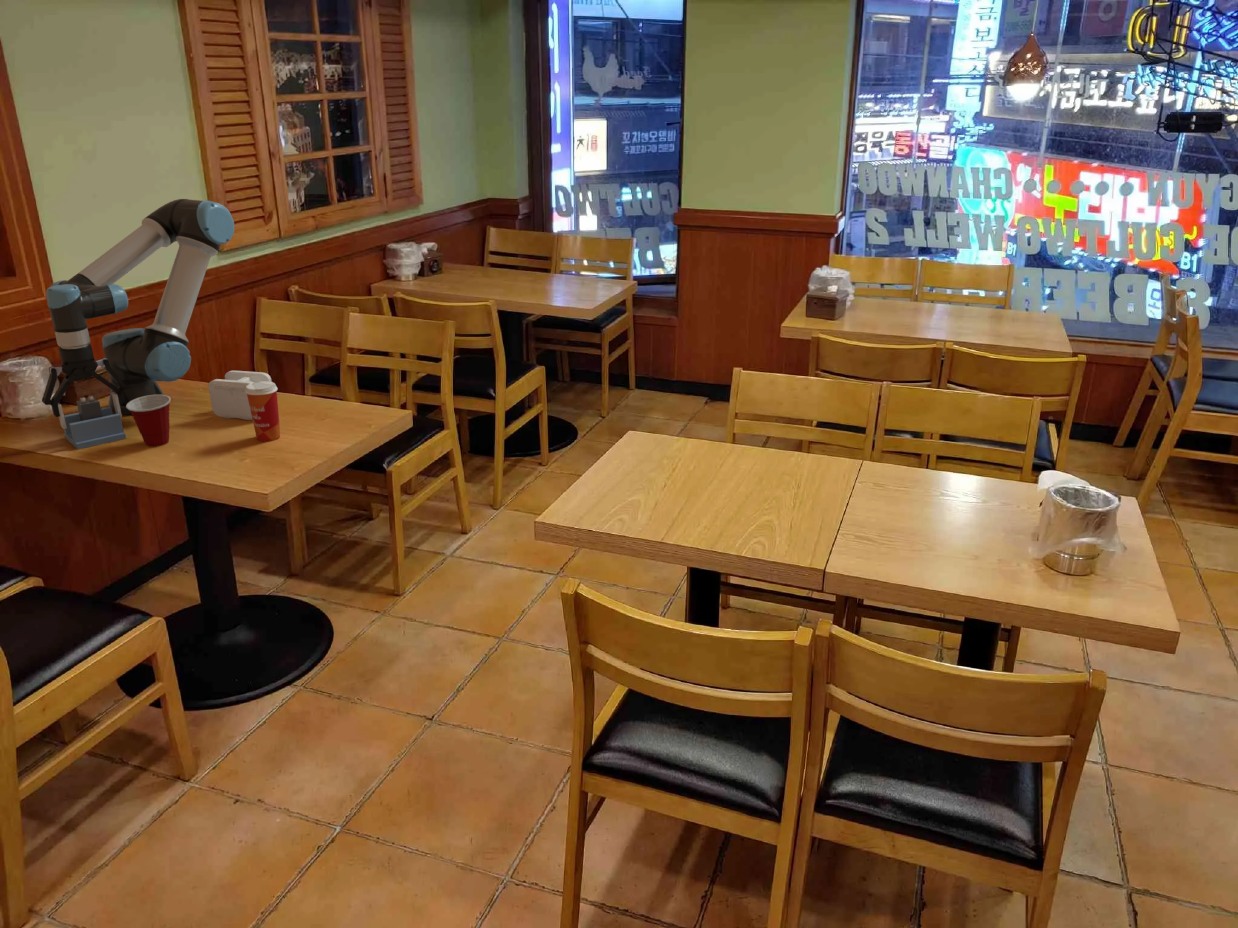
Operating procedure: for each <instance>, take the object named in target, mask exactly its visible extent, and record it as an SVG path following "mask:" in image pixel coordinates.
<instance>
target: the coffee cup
mask: <svg viewBox="0 0 1238 928" xmlns="http://www.w3.org/2000/svg"><path fill="white" fill-rule="evenodd" d="M278 388H279V387H277V385H276V383H275V382H273V381H271V382H269V381H262V382H259V383H257V382H256V383H252V384H249V385H247V386H246V390H245V393H246V394H247V397H248V402H249V406H250V411H251V415H252V420H251V421H252V425H253V428H254V432H255V436H256V439H257V441H259V442H273V441H275V440H279V439H280V436H281V432H280V431H281V429H280V417H279V416H280V414H279V404H278V392H277V391H278Z"/></svg>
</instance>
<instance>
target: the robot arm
mask: <svg viewBox="0 0 1238 928" xmlns="http://www.w3.org/2000/svg"><path fill="white" fill-rule="evenodd" d="M234 233H235V221H234V218H233V217H232V214H231V212H230V211H229V209H228V208H227V207H226V206H224V205H223V204H221V203H218V202H215V201H212V200H197V199H189V198H179V199H174V200H172V201H169V202H167V203H165V204H163V205H162V206H160V207H159V208H157V209H154V211H153V212H151V213H150V214H148V215H147V216H146V217H144V218H143V219H142V220H141V225H140V226H139V227H137V228H136V229H135V230H133V231H132V232H131V233H130V234H128V235H127V236H125V237H124V238H123V239H122V240H120V241H119V242H117V243H116V244H115V245H113V246H112V247H111V248H109V249H108V250H107V251H105V252H104V253H103V254H101V255H100V256H98V257H97V258H96V259H95V260H94V261H92V262H91V263H90V264H88V265H87V266H86V267H84V268H83V269H81V270H80V271H79V272H78V273H77V274H75V275H73V276H72V277H71V278H69V279H68V280H65V279H64V280H57V281H55V282H54V283H52V284H51V286H50V287H48V288H46V291H45V293H46V294H45V295H46V302H47V307H48V310H49V313H50V318H51V322H52V326H53V330H54V335H55V340H56V343H57V346H59V348H58V352H59V356H60V360H61V366H58V367H57V366H56V367H54V366H49V367H48V371H49V372H48V373H49V375H48V376H49V377H48V379H47V383H46V386H45V389H44V392H43V395H42V398H41V402H42V403H43V404H44V405H45V406H51V410H52V414H53V416H54V417H56V418H58V419H59V424H60V427H61V428H62V429H63V430H64V429H67V426H66V422H65V418H64V410H63V406H62V404H61V403H60V401H61V400H62V399H63V396H64V395H65V394H66V392H67V390H68V389H69V387H70V385H72V384H73V382H75V381H76V382H80V381H83V380H90V379H91V378H92V377H93V378H95V379H96V380H98V381H99V382H100V383H102V384H103V385H104V386H106V387H108V388H109V389H110V393H109V397H108V398H109V399H108V407H109V406H110V407H111V409H112V414H119V415H120V417H121V418H122V417H123V415H132V414H131V412H130V411H129V410H128V409H127V408H126V405H127V403H129V402H130V401H132V400H134V399H136V398H139V397H143V396H148V395H165V393H164V392H163V390H162V388H161V387H160V385H159V383H158V382H165V383H166V382H168V383H170V382H175V381H177V380H179V379H182V377H184V375H186V373H187V372H188V371H189V369H190V366H191V361H192V357H191V354H190V353H191V352H190V350H189V349H188V345H189V339H188V338H187V336H186V333H187V332H186V331H187V329H188V328H189V327H188V326H189V322H190V319H191V317H192V315H193V312H194V308H195V305H196V302H197V299H198V296H199V292H200V290H201V287H202V284H203V281H204V279H205V275H206V272H207V269H208V266H209V263H210V259H211V258H212V257H214V256H217V255H218V253H219V251H220V248H221V245H224V244H226V243H228V242H230V241H231V239H232V238H233V236H234ZM175 242H177V244H178V249H177V253H176V255H175V258H174V261H173V264H172V267H171V270H170V273H169V276H168V279H167V282H166V285H165V287H164V291H163V294H162V296H161V299H160V302H159V305H158V307H157V311H156V313H155V318H154V320H153V323H152V324H150V325H148V326H145V327H144V328H142V327H139V328H137V327H136V328H134V327H133V328H128V329H127V328H126V329H121V330H117V331H113V332H112V331H111V332H108V333H105V334H104V335H103V336H102V338H101V343H102V350H103V352H104V357H101V358H100V359H99V360H95V356H94V352H93V351H94V350H93V348H92V345H91V344H90V343H91V338H90V334H89V330H88V325H87V320H90V319H96V318H100V317H104V316H110V315H116V314H119V313H121V312H124V311H126V310H127V309H128V306H129V299H128V294H127V292H126V290H125V289H124V288H123V287H122V286H121V285H119V284H115V283H116V282H117V281H119V280H120V279H121V278H123V277H124V276H125V275H126V274H128V273H129V272H130V271H132V270H133V269H134V268H136V267H137V266H138V265H139V264H140V265H141V263H143V261H145V260H146V259H147V258H149V257H150V256H152V254H154V253H155V252H157V251H158V250H159V249H160V248H161V247H163V248H168V247H169V246H170V245H172V244H173V243H175ZM98 366H99V367H101V368H104V370H105V371H106V372H107V373H108V374H109V379H110V381H109V380H107V379H106V378H105V377H103V376H102V375H100V374H99V373H98V372H96V370H97V368H98ZM61 373H64V374H65V375H64V377H63V379H62V381H61V383H60V385H59V386H58V387H57V389H56V391H55V392H54V390H55V386H56V383H57V380H58V376H60V374H61ZM53 392H54V394H53ZM52 395H53V396H52Z"/></svg>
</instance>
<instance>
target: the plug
mask: <svg viewBox="0 0 1238 928" xmlns="http://www.w3.org/2000/svg"><path fill="white" fill-rule="evenodd" d="M76 406H77V411H78V413H79V416H80V420H81V421H85V420H90V419H94V418H99V417H103V416H102V411H101V408H102V407H101V402H100V401H99V400H98V399H97V398H95V397H94V395H89V396H88V398H87V399H86V397H80V398H79V400H76Z"/></svg>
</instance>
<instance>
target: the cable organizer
mask: <svg viewBox="0 0 1238 928" xmlns="http://www.w3.org/2000/svg"><path fill="white" fill-rule="evenodd" d="M224 374H225V375H224V379H219V378H216V379H213V380H211V381H209V383H208V391H209V397H210V402H211V404H210V405H211V408H212V412H213V414H214V415H215V416H217V417H220V418H222V419H231V420H232V419H242V420H244V421H245V420H246V421H253V420H252V415H251V411H250V406H249V402H248V397H247V394H246V393H245V390H246V386H247V385H249V384H252V383H256V382H257V383H259V382H262V381H269V382H272V378H271V375H269V374H268V373H267V372H261V371H259V372H258V371H247V370H245V371H243V370H229V371H228V372H226V373H224Z"/></svg>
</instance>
